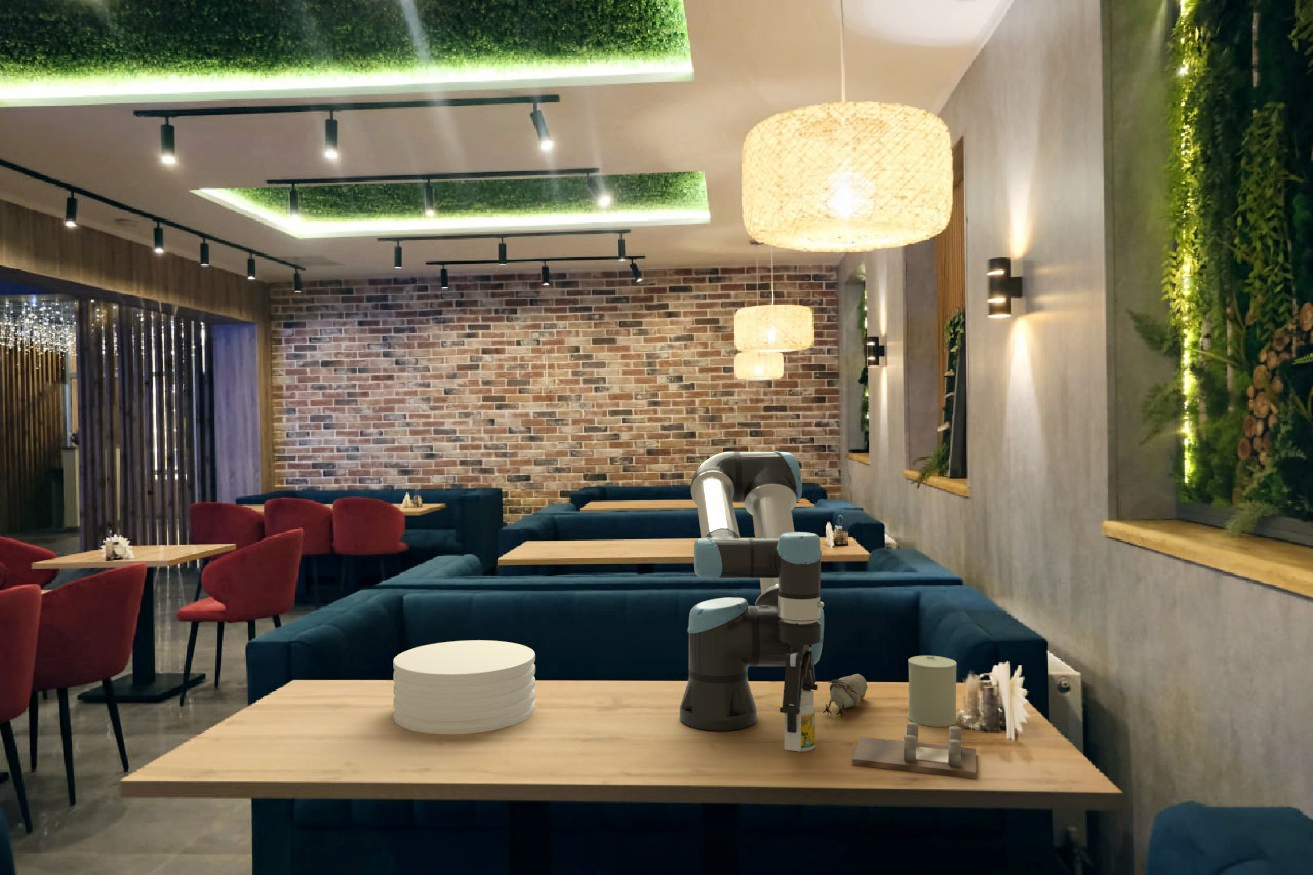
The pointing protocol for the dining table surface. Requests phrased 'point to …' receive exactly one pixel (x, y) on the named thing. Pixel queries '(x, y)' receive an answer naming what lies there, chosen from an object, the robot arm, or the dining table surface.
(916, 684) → the can
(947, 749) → the pin nest
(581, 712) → the dining table surface
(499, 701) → the plate stack
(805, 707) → the supplement bottle
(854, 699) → the decorative bird
